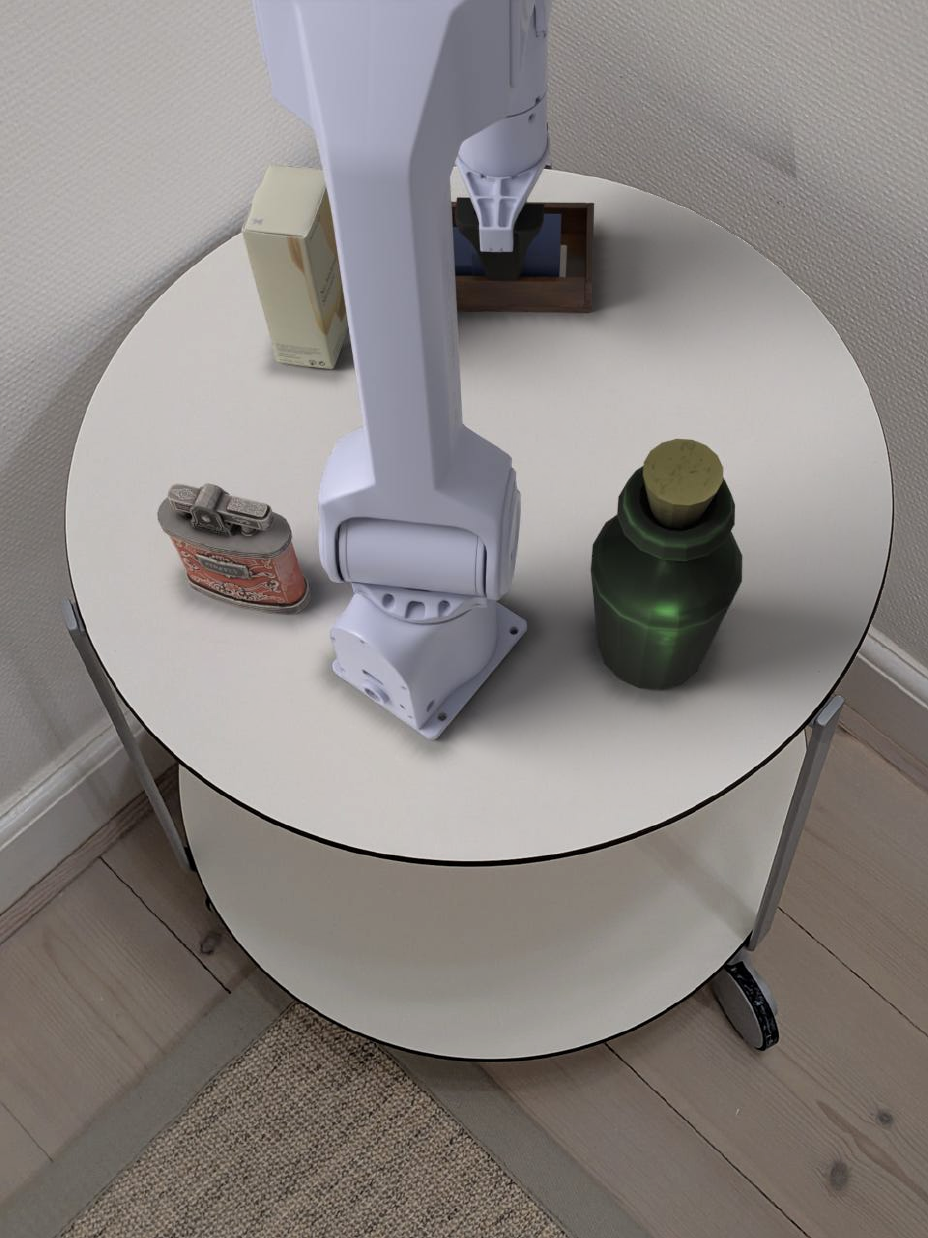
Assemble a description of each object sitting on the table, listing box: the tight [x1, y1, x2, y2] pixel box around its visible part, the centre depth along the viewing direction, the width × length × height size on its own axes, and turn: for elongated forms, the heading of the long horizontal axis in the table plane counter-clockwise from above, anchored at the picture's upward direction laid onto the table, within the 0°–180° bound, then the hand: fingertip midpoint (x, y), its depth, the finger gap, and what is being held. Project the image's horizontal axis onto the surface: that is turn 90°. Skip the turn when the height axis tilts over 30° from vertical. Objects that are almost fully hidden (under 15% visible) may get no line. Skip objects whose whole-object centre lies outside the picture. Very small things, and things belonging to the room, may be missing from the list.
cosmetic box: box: [241, 162, 349, 370], centre depth 82 cm, size 6×4×12 cm
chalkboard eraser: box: [453, 214, 567, 277], centre depth 86 cm, size 8×4×4 cm, turn 86°
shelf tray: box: [451, 201, 595, 313], centre depth 88 cm, size 12×8×3 cm, turn 86°
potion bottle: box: [590, 438, 743, 691], centre depth 67 cm, size 8×8×18 cm
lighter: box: [156, 482, 312, 615], centre depth 74 cm, size 8×3×10 cm, turn 73°
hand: (505, 247), depth 86 cm, fingers open, 5 cm apart
